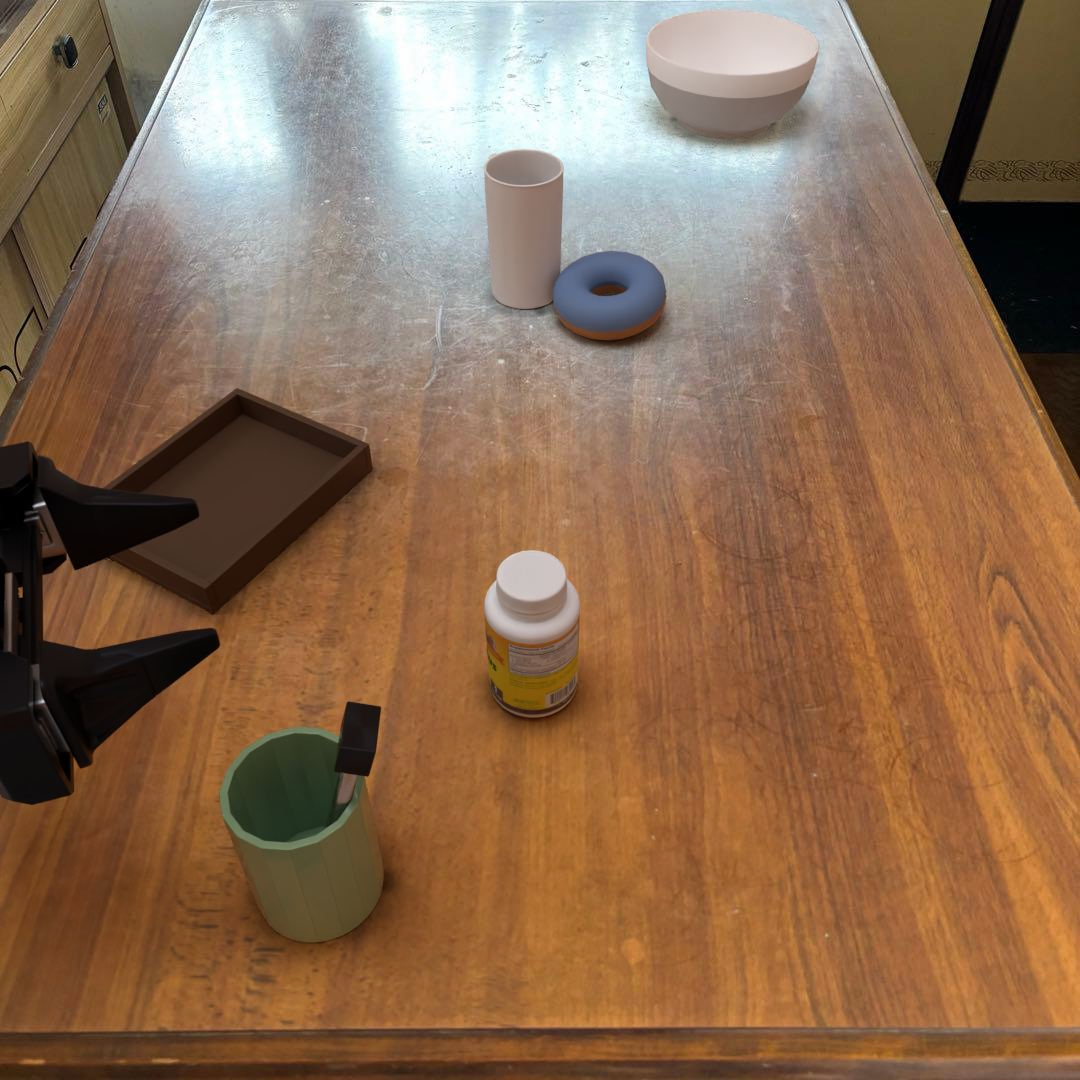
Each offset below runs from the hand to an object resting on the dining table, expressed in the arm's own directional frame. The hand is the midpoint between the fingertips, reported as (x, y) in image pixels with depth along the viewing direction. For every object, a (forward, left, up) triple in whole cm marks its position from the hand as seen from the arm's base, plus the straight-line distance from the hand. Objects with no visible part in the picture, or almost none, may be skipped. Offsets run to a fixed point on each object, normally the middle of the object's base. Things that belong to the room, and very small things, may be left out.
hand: (207, 568), depth 54 cm
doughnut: (+36, +37, -16) cm, 54 cm away
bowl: (+63, +71, -16) cm, 96 cm away
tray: (+1, +23, -16) cm, 28 cm away
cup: (+2, -9, -16) cm, 19 cm away
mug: (+30, +45, -16) cm, 56 cm away
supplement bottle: (+17, 0, -16) cm, 23 cm away
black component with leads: (+3, -10, -16) cm, 19 cm away
